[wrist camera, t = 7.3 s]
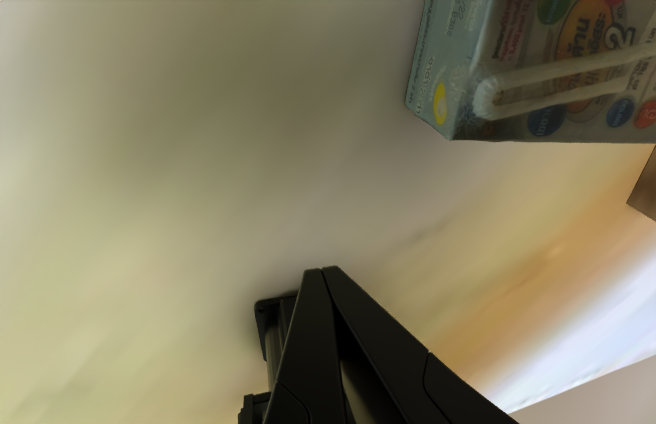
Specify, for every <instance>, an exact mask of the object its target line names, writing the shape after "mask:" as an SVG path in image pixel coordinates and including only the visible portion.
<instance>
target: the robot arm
mask: <svg viewBox="0 0 656 424" xmlns="http://www.w3.org/2000/svg"><path fill="white" fill-rule="evenodd" d="M261 308H263V309H261ZM254 312H255V317H256V322H257V327H258V333H259V338H260V343H261V348H262V353H263V358H264V361H266V362H267V370H268V382H269V392H265V393H261V394H256V395H253V394H249V395H244V405H243V408H241V412H240V413H239V414H238V424H519V423H518V422H516V421H515V420H514V419H513V418H511V417H510V416H508V415H507V414H506V413H505V412H503V411H502V410H501V409H499V408H498V407H497V406H495V405H494V404H493V403H491V402H490V401H489V400H488V399H486V398H485V397H484V396H482V395H481V394H480V393H478V392H477V391H476V390H475V389H473V388H472V387H471V386H470V385H468V384H467V383H466V382H465V381H463V380H462V379H461V378H460V377H459V376H457V375H456V374H455V373H454V372H453V371H452V370H451V369H449V368H448V367H447V366H446V365H445V364H444V363H443V362H442V361H440V360H439V359H438V358H437V357H436V356H435V355H434V354H433V353H432V352H429V350H428V349H427V348H426V347H425V346H424V345H423V344H422V343H421V342H420V341H419V340H417V339H416V338H415V337H414V336H413V335H412V334H411V333H410V332H409V331H408V330H407V329H405V328H404V327H403V326H402V325H401V324H400V323H399V322H398V321H397V320H396V319H395V318H394V317H392V316H391V315H390V314H389V313H388V312H387V311H386V310H385V309H384V308H383V307H382V306H380V305H379V304H378V303H377V302H376V301H375V300H374V299H373V298H372V297H371V296H370V295H369V294H367V293H366V292H365V291H364V290H363V289H362V288H361V287H360V286H359V285H358V284H357V283H355V282H354V281H353V280H352V279H351V278H350V277H349V276H348V275H347V274H346V273H345V272H343V271H342V270H341V269H340V268H339V267H338V266H328V267H323V268H322V269H320V268H314V269H308V270H305V271H304V273H303V277H302V281H301V285H300V289H299V292H298V295H297V296H291V297H285V298H279V299H273V300H267V301H262V302H258V303H256V304H255V306H254Z"/></svg>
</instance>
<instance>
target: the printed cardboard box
mask: <svg viewBox="0 0 656 424" xmlns="http://www.w3.org/2000/svg"><path fill="white" fill-rule="evenodd" d="M405 105H406V107H407V108H408V109H410V110H412V111H413V112H414V114H415V115H416V116H418V117H419V118H421V119H422V120H423V121H425V122H426V123H428V124H430V125H431V126H432V127H433V128H434V129H436V130H437V131H438V132H439V133H440V134H442V135H443V136H444V137H445V138H446V139H448V140H450V141H451V140H476V141H489V142H503V141H514V142H561V143H652V144H656V0H425V6H424V11H423V16H422V21H421V25H420V31H419V36H418V40H417V46H416V50H415V55H414V59H413V64H412V70H411V75H410V79H409V83H408V88H407V94H406V101H405Z"/></svg>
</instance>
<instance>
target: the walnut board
mask: <svg viewBox="0 0 656 424" xmlns="http://www.w3.org/2000/svg"><path fill="white" fill-rule="evenodd" d="M627 204H628V205H630V206H631V207H633V208H635V209H636V210H638V211H639V212H641V213H643V214H644V215H646V216H647V217H649V218H651V219H652V220H654V221H656V147H655V149H654V151H653V153H652V155H651V157H650V159H649V161H648V163H647V165H646V166H645V168H644V170H643V172H642V174H641V176H640V178H639V180H638V182H637V184H636V186H635V188H634V190H633V192H632V194H631V196H630V198H629V200H628V202H627Z"/></svg>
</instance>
